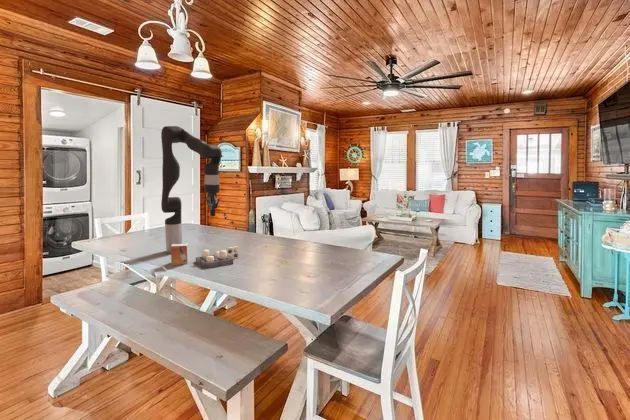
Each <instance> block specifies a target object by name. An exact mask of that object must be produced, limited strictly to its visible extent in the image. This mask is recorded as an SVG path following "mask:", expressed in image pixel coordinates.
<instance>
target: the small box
mask: <svg viewBox="0 0 630 420" xmlns="http://www.w3.org/2000/svg"><path fill="white" fill-rule="evenodd" d="M188 245H189V243H182V244H172V246H171V253H170V262H171V263H170V264H171V266H173V265H175V266H176V265H187V264H188V263H189V246H188Z"/></svg>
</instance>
